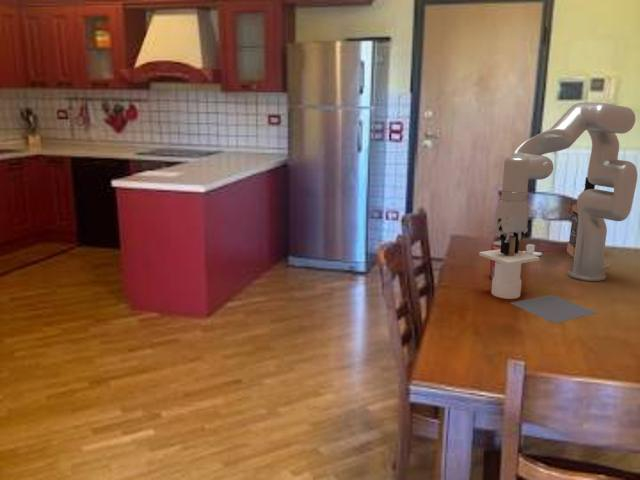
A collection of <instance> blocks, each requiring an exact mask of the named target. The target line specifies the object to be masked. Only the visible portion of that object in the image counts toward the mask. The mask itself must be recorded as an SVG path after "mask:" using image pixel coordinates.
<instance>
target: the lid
mask: <svg viewBox="0 0 640 480" xmlns="http://www.w3.org/2000/svg"><path fill="white" fill-rule="evenodd" d="M508 242H509V243H510V247H509V254H508V255H505V254H503V253H501V252H500V250H501V249H498V250H491V249H490V250H486V251H479V253H478V254H479V255H478V256H480V257H483V258H486V259H489V260H490V259H491V260H494V261H497V262H499V263H502V264H505V265H515V264H521V265H522V264H526V263H533V262H538V261H540V257H541V256H534V255H531V254H527V252H523V251H521V250H518V253H515V242H516V236H512V234H511V235H509V241H508Z"/></svg>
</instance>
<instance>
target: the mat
mask: <svg viewBox="0 0 640 480" xmlns="http://www.w3.org/2000/svg"><path fill="white" fill-rule="evenodd" d="M509 304H510V305H513V306H515V307H517V308H520V309H522V310H524V311H527V312H529V313H531V314H533V315H534V316H537V317H540V318H542V319H544V320H547V321H549V322H551V323H553V324H557V323H561V322H566V321H570V320H575V319H579V318H583V317H588V316H592V315H596V314H599V312H598V311H594V310H592V309H589V308H587V307H584V306H581V305H580V304H578V303H574V302H572V301H569V300H567V299H564V298H561V297H559V296H556V295H554V294H548V295H544V296H538V297H533V298H528V299H523V300H519V301H513V302H509Z"/></svg>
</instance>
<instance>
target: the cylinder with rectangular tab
mask: <svg viewBox="0 0 640 480" xmlns="http://www.w3.org/2000/svg"><path fill="white" fill-rule="evenodd" d="M521 271H522V263H521V264H515V265H505V264H502V263H499V262H495V271H494V277H493V278H491V279H492V280H491V281H492V282H491V295H492V296H494V297H496V298H500V299H506V300H507V299H508V300H510V299H511V300H512V299H513V300H514V299H518V298H520V297H521V292H522V279H521Z"/></svg>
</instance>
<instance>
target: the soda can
mask: <svg viewBox="0 0 640 480" xmlns="http://www.w3.org/2000/svg"><path fill="white" fill-rule="evenodd" d="M498 249H501V241H500V240H496V241H493V242H492V245H491V247H490V251H491V250H498ZM489 260H490V261H489V277H490V278H491V279H492V278H493V277H494V271H495V262H497V261H494V260H491V259H489Z"/></svg>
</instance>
